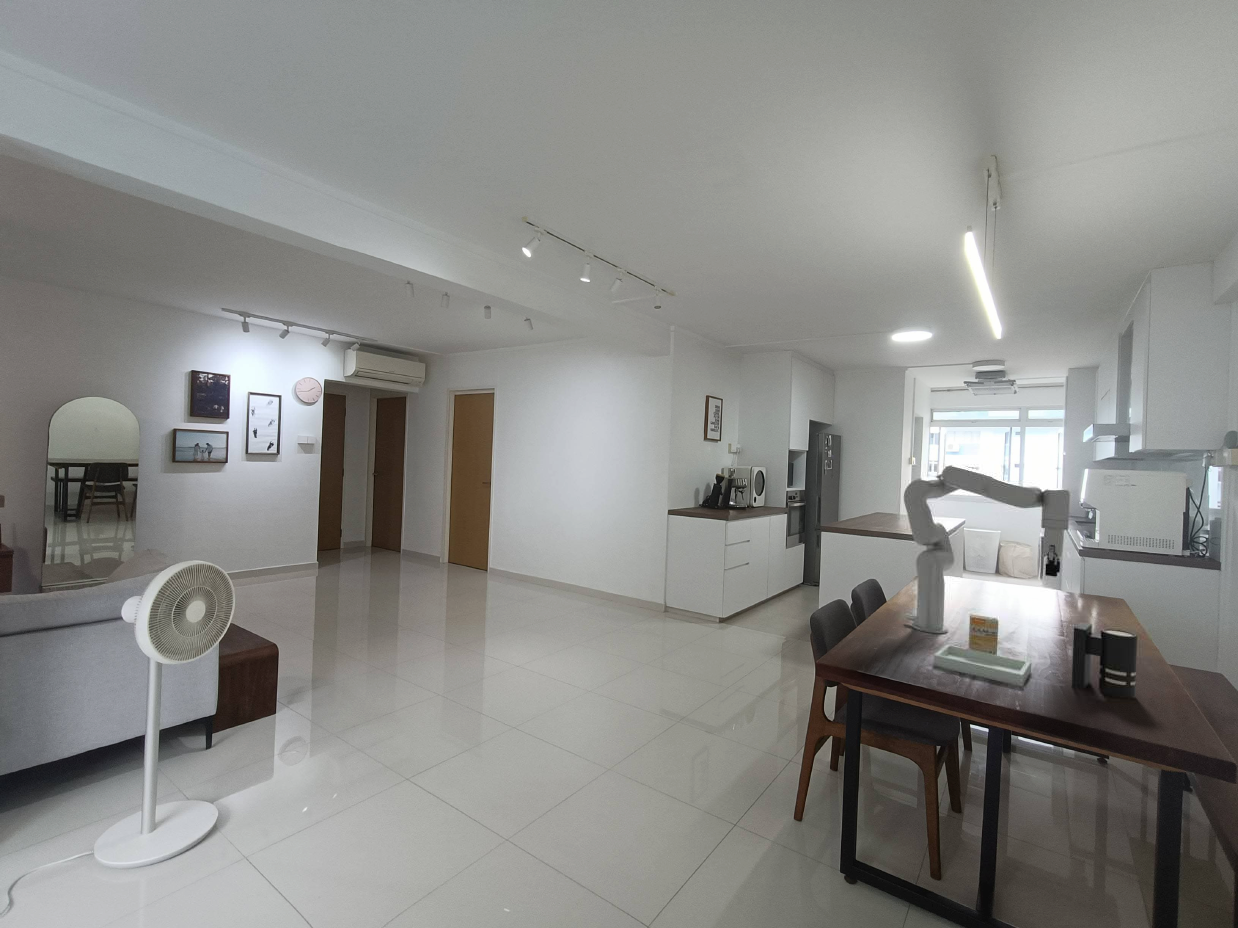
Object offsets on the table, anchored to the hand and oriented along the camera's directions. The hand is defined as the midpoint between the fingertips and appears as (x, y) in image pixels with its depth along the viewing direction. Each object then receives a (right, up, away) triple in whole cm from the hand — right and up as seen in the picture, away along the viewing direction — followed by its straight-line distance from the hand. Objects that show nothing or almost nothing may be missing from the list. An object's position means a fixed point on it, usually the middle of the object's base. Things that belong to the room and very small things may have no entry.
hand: (1052, 573), depth 202 cm
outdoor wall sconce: (-6, -29, -29) cm, 41 cm away
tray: (-33, -28, -13) cm, 45 cm away
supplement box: (-23, -28, +1) cm, 37 cm away
